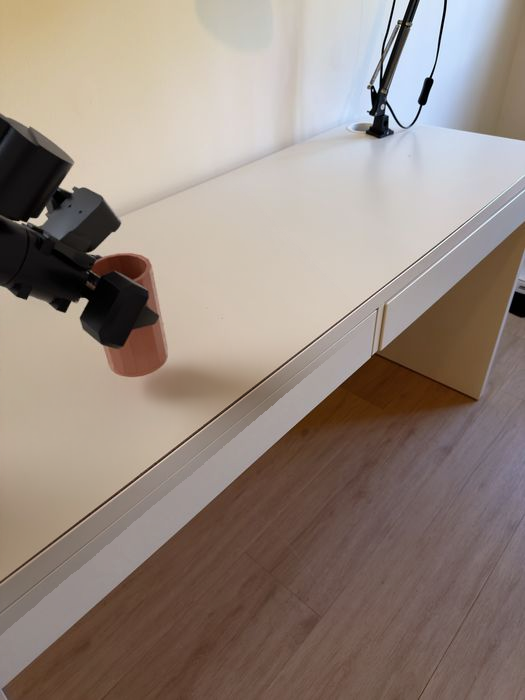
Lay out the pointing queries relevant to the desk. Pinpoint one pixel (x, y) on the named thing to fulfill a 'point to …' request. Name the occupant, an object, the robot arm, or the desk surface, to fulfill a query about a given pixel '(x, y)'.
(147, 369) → the pen cup
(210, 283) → the desk surface
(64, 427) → the desk surface
